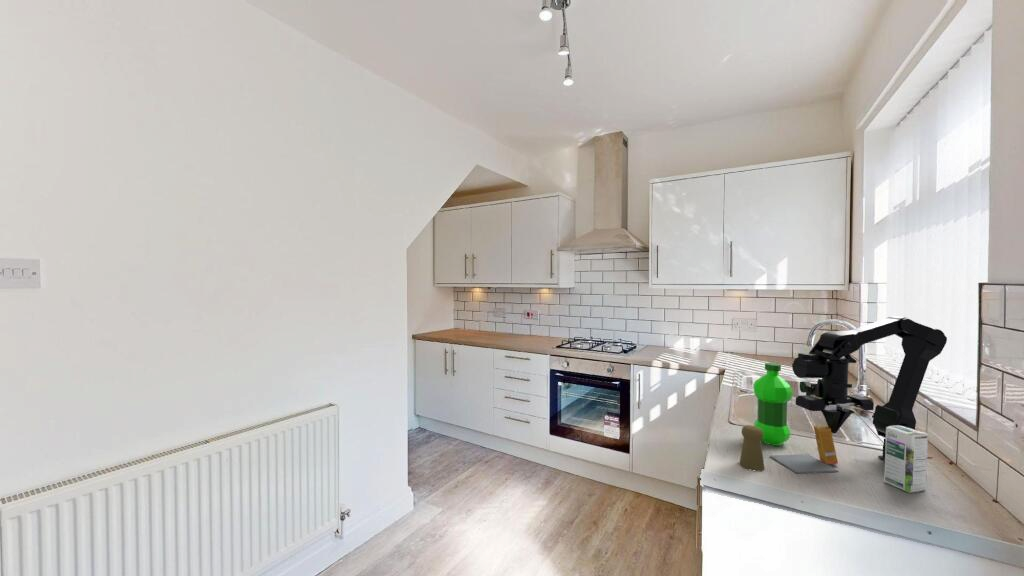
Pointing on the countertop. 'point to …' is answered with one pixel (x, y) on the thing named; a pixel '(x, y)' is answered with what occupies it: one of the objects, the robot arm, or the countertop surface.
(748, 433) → the cork
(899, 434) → the syrup box
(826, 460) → the supplement box
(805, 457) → the rubber mat
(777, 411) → the plastic bottle
